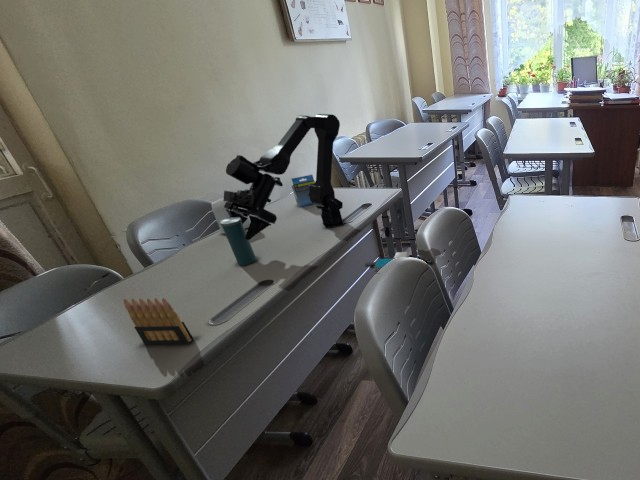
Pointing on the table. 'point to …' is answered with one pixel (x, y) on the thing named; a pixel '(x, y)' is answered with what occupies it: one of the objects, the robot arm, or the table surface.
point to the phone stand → (386, 261)
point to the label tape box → (302, 189)
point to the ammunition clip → (157, 323)
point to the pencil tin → (238, 240)
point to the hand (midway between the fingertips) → (238, 236)
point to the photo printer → (224, 213)
